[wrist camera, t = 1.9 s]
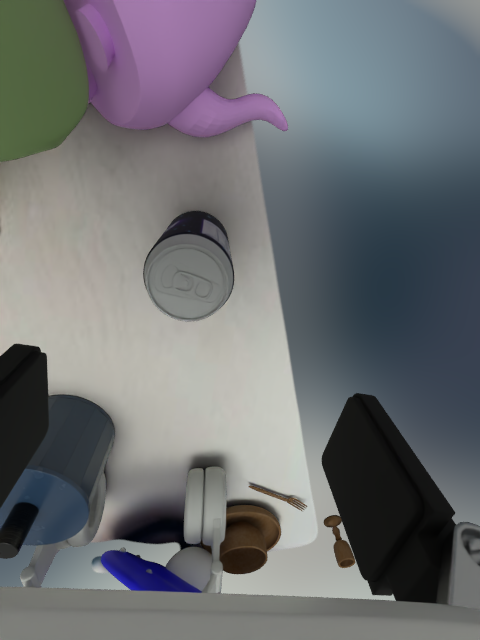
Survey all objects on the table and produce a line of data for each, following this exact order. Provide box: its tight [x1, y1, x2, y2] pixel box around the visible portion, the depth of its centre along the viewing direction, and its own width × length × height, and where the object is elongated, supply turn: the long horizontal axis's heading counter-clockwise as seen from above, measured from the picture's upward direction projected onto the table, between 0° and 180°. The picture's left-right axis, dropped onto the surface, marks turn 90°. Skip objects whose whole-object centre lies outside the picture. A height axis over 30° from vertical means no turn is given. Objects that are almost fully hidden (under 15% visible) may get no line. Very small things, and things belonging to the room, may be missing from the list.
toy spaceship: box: [101, 547, 221, 593], centre depth 45 cm, size 25×25×7 cm
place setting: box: [188, 486, 355, 574], centre depth 47 cm, size 18×20×6 cm
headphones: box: [20, 467, 226, 593], centre depth 34 cm, size 20×8×19 cm, turn 85°
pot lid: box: [0, 464, 90, 559], centre depth 28 cm, size 11×11×5 cm
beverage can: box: [143, 211, 234, 321], centre depth 24 cm, size 6×6×12 cm
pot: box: [28, 395, 115, 506], centre depth 34 cm, size 10×10×10 cm
